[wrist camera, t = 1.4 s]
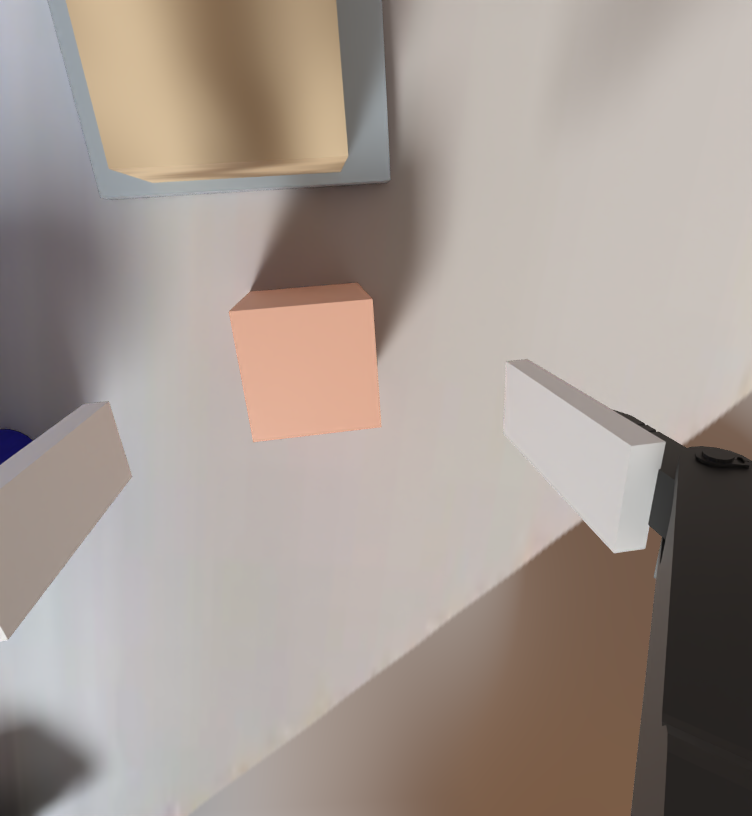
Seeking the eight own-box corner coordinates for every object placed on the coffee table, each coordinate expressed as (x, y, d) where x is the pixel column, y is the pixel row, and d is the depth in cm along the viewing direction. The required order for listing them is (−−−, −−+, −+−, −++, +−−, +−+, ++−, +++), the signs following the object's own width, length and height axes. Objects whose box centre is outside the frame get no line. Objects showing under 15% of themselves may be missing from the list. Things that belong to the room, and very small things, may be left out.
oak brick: (152, 182, 21) (108, 168, 17) (96, -67, 18) (21, -170, 13) (340, 172, 22) (348, 156, 18) (320, -67, 19) (323, -165, 14)
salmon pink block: (267, 392, 27) (253, 442, 21) (250, 291, 25) (228, 311, 18) (364, 382, 28) (381, 427, 21) (356, 282, 26) (372, 299, 19)
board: (110, 199, 22) (100, 197, 21) (42, -65, 19) (25, -83, 18) (386, 182, 24) (390, 180, 23) (374, -66, 20) (377, -83, 19)
